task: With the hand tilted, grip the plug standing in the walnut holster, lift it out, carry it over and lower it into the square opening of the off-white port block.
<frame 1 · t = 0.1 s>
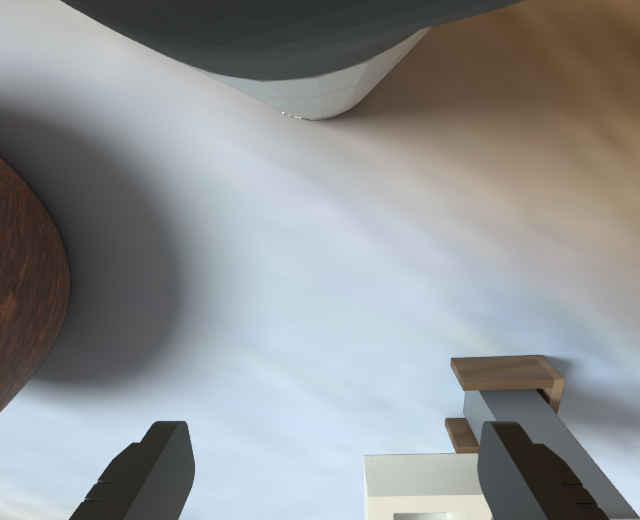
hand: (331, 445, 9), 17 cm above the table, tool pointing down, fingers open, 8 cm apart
port: (417, 492, 35), on the table
plug: (536, 464, 23), in the holster
holster: (490, 391, 30), on the table
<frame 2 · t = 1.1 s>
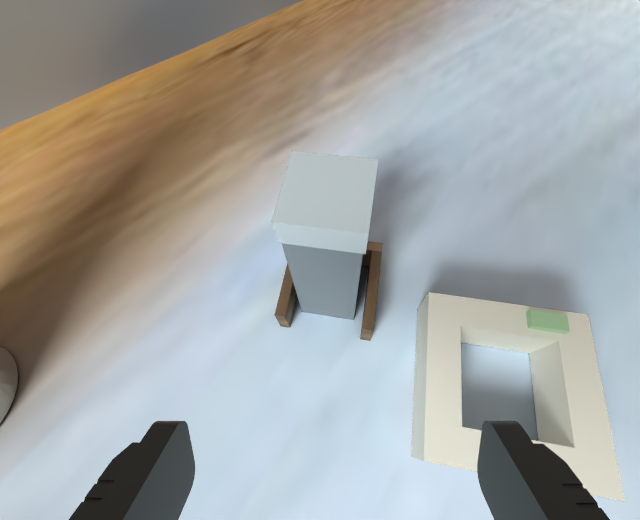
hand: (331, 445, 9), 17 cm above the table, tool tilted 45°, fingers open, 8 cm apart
port: (488, 388, 25), on the table
plug: (330, 254, 23), in the holster
holster: (331, 291, 29), on the table
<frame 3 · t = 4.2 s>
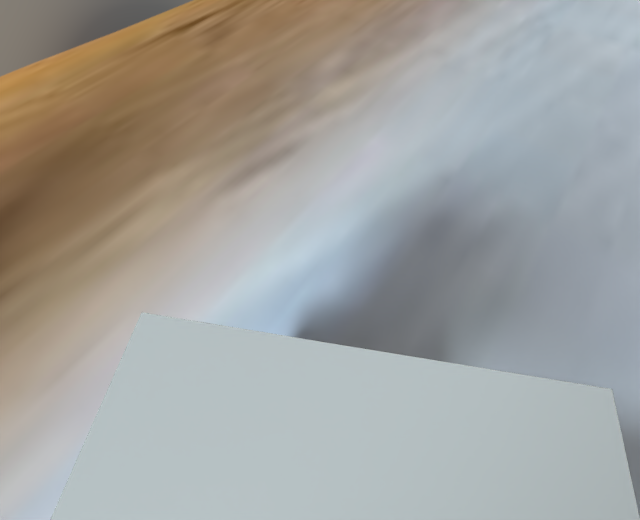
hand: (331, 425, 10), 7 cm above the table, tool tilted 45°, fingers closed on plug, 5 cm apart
plug: (332, 504, 8), in the holster, touching gripper
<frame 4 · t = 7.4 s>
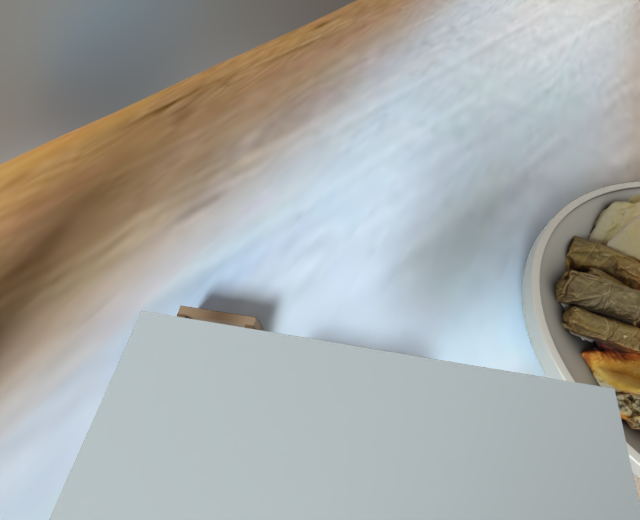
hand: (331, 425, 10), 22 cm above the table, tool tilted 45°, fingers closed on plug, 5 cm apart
plug: (332, 503, 8), point 22 cm above the table, touching gripper
holster: (215, 357, 33), on the table
when the fingers open (8 cm above the table, at t = 10.4 s): plug drops 1 cm, resting in port.
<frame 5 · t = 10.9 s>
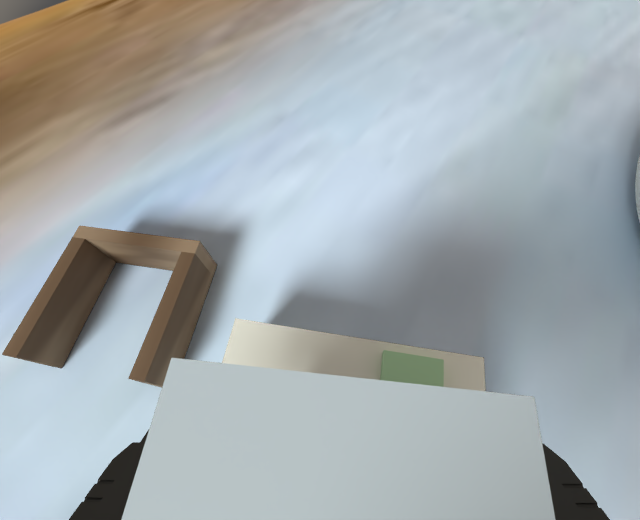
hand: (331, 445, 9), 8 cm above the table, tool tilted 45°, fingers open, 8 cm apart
port: (336, 472, 16), on the table
plug: (334, 501, 9), resting in port
holster: (138, 312, 20), on the table
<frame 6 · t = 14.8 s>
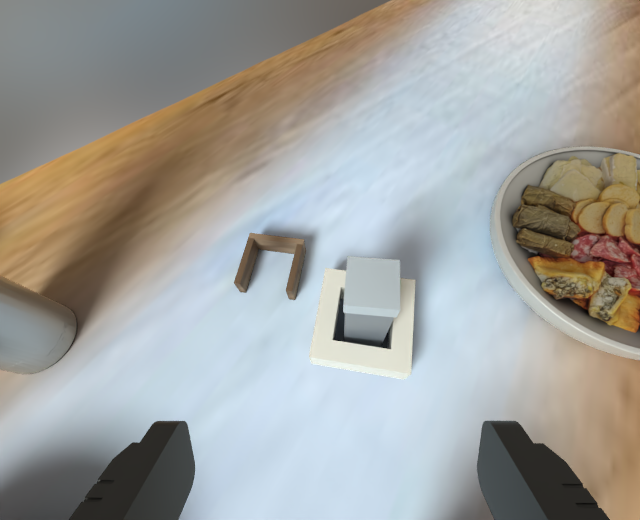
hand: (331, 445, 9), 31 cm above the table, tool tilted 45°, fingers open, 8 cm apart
port: (362, 326, 42), on the table
plug: (366, 308, 35), resting in port
holster: (274, 270, 46), on the table
bowl: (595, 255, 45), on the table
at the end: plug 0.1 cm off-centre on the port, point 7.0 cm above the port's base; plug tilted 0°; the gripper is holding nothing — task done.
